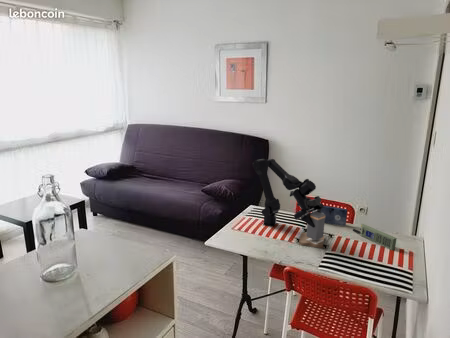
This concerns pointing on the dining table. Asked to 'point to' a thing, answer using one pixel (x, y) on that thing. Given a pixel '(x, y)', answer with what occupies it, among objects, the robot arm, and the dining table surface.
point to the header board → (311, 241)
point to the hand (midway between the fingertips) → (318, 225)
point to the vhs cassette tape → (334, 215)
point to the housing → (316, 226)
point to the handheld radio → (377, 236)
